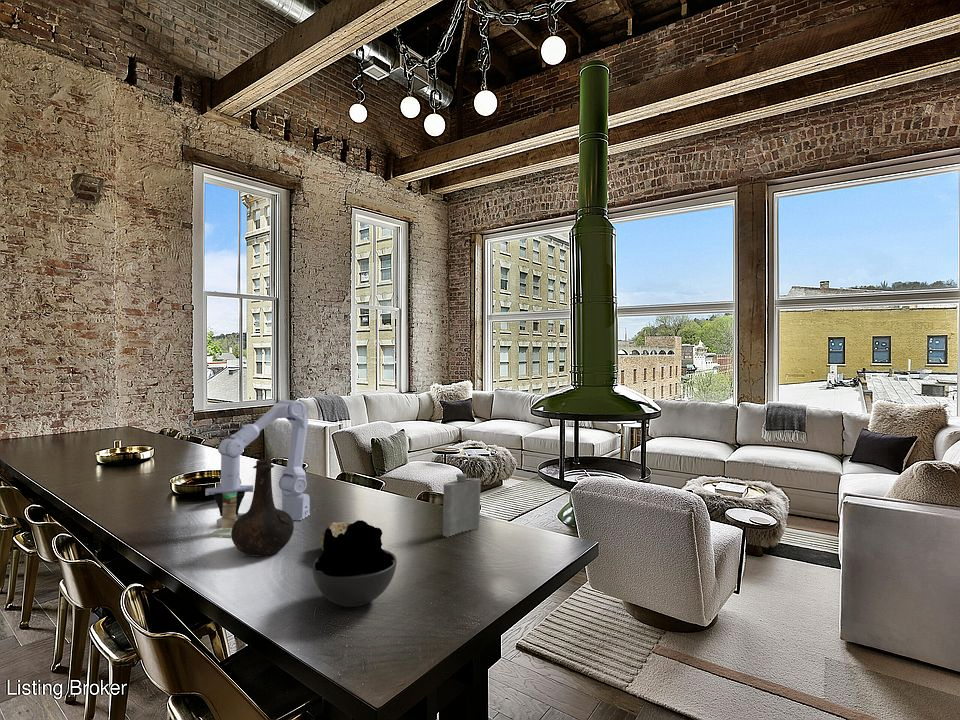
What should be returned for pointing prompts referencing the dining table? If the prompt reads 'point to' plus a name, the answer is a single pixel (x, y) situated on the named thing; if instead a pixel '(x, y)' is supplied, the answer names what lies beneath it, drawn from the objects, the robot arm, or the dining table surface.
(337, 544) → the bowl of black rocks
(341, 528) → the rock
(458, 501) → the hip flask
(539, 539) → the dining table surface
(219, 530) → the ceramic tile
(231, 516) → the maple peg
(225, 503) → the food container
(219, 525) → the white flat frame
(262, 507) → the glass bottle
